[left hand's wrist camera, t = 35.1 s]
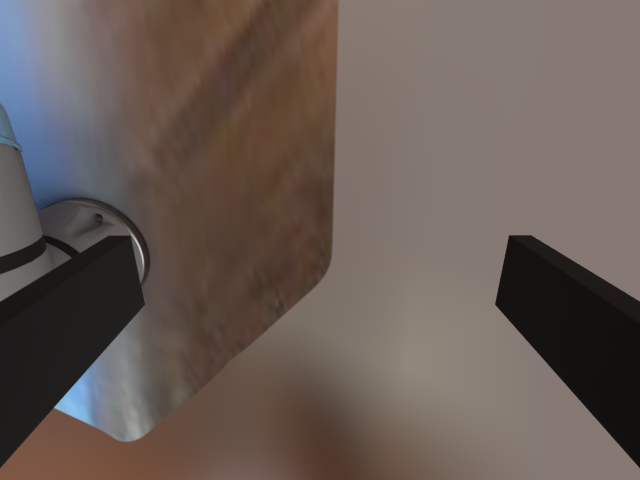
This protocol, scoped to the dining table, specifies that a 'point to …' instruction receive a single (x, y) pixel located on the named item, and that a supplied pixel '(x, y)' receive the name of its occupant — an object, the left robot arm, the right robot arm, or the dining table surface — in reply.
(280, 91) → the dining table surface
